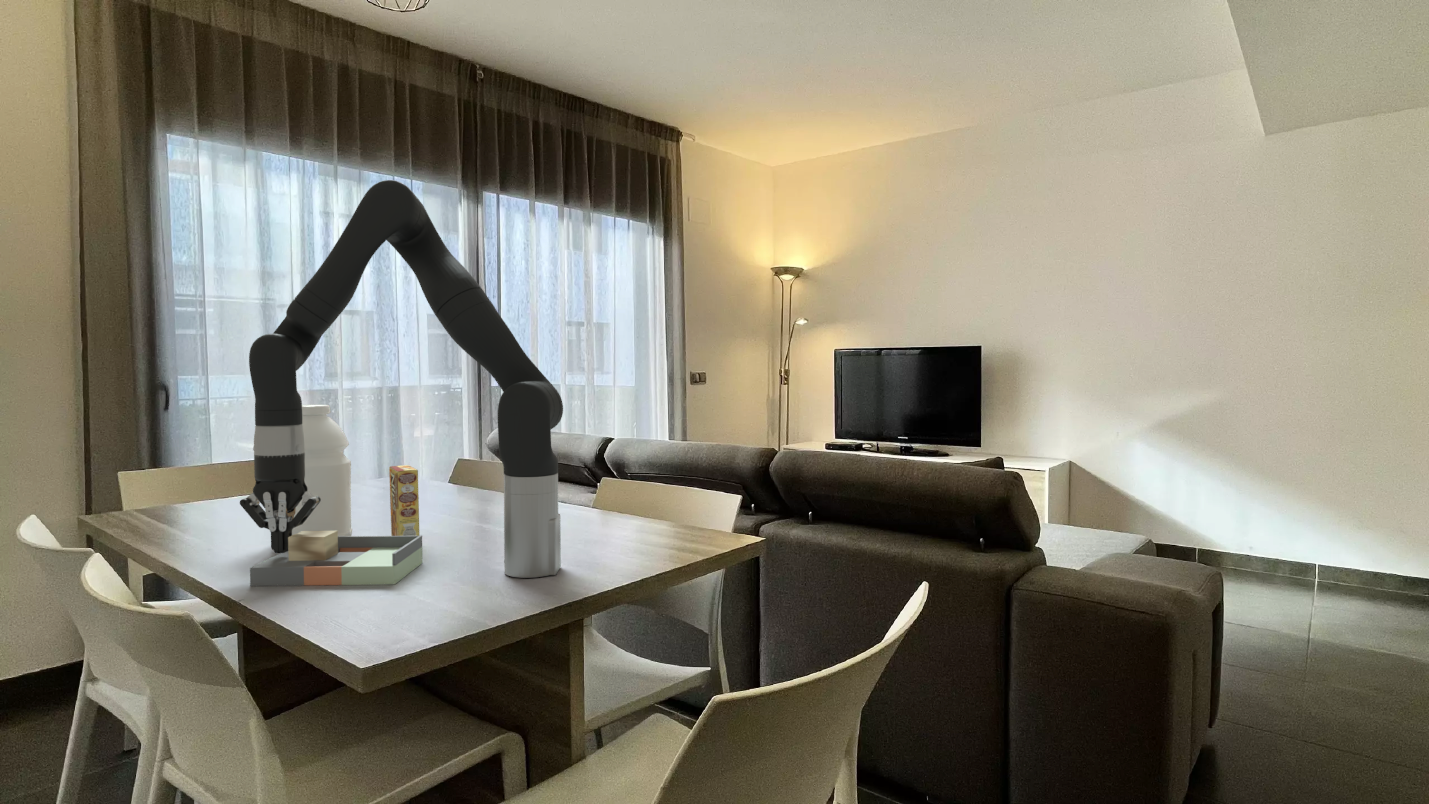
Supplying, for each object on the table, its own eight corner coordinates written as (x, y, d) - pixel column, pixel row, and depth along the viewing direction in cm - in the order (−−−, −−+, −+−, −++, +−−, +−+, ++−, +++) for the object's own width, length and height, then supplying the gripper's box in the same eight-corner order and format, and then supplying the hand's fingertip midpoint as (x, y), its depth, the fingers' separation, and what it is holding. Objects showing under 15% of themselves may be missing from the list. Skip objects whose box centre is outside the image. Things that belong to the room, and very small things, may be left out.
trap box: (422, 562, 140) (422, 535, 139) (394, 584, 126) (394, 554, 126) (292, 564, 138) (292, 536, 138) (250, 586, 124) (249, 555, 124)
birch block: (338, 553, 134) (337, 530, 134) (325, 560, 129) (324, 536, 129) (302, 553, 134) (302, 530, 134) (288, 560, 129) (288, 537, 129)
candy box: (420, 545, 154) (419, 469, 153) (398, 547, 151) (397, 470, 151) (410, 537, 161) (409, 464, 160) (389, 539, 159) (388, 465, 158)
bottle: (262, 552, 147) (259, 407, 146) (289, 536, 161) (287, 403, 160) (340, 549, 150) (337, 406, 148) (360, 534, 163) (358, 403, 162)
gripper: (329, 449, 135) (330, 546, 135) (251, 449, 134) (253, 547, 135) (309, 453, 127) (310, 557, 128) (226, 453, 126) (229, 557, 127)
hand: (281, 551), depth 131 cm, fingers closed
